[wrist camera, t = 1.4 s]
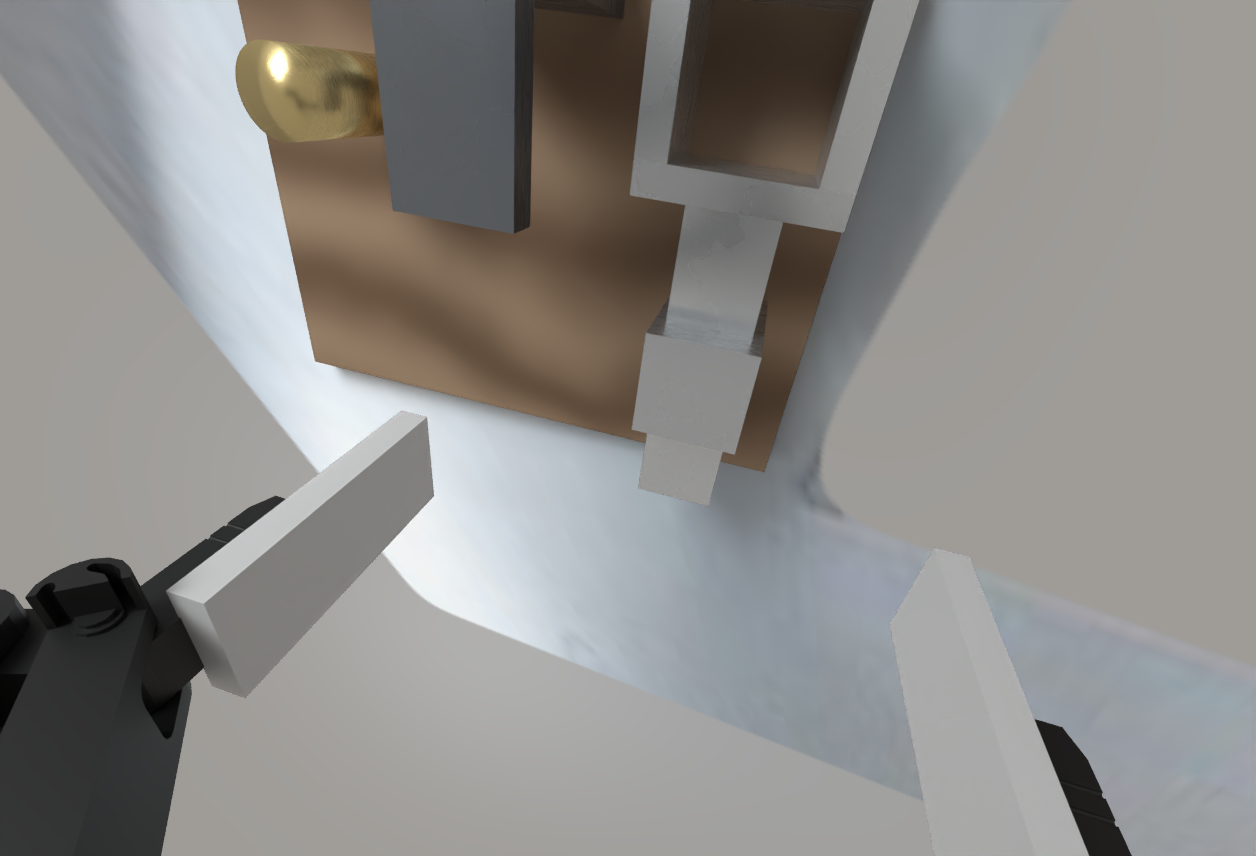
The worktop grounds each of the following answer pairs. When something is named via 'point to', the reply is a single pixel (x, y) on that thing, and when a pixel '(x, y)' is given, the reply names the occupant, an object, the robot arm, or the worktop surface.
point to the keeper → (462, 104)
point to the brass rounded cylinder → (309, 91)
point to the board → (559, 219)
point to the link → (734, 232)
